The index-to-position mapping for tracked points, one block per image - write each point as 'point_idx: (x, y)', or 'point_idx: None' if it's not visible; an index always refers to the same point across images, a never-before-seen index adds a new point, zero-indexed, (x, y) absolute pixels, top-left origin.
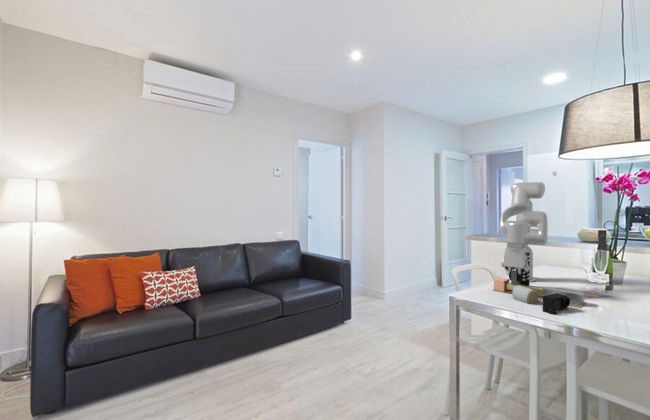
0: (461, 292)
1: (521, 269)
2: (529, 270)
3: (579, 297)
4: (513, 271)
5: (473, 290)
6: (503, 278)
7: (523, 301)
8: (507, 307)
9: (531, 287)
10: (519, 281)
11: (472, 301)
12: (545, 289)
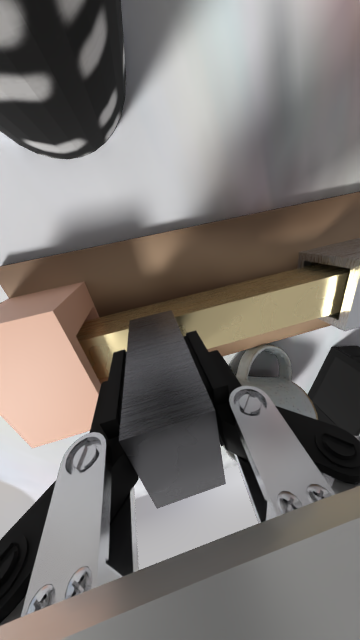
0: (29, 486)
1: (291, 465)
2: None
3: None
4: (183, 494)
5: (10, 439)
6: (15, 353)
7: None
8: (226, 454)
9: (267, 321)
10: (60, 115)
11: (139, 496)
12: (351, 326)
